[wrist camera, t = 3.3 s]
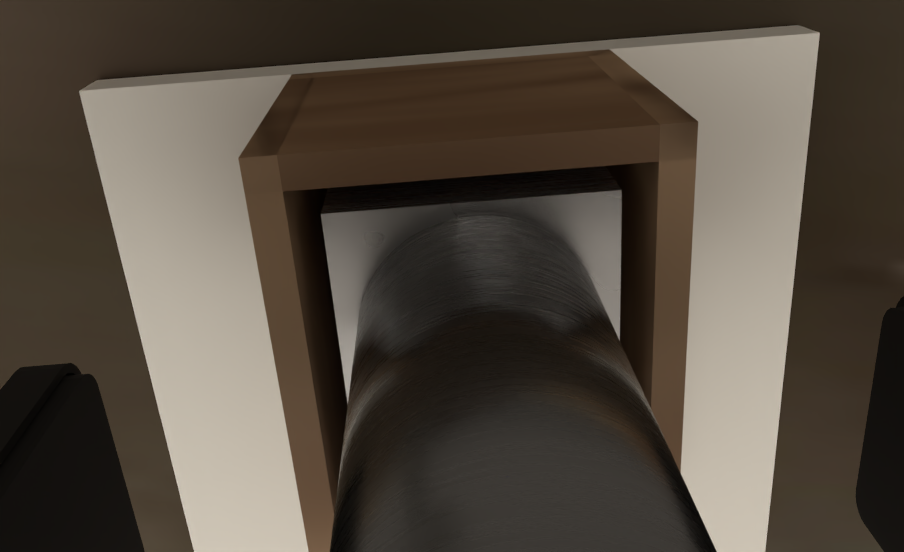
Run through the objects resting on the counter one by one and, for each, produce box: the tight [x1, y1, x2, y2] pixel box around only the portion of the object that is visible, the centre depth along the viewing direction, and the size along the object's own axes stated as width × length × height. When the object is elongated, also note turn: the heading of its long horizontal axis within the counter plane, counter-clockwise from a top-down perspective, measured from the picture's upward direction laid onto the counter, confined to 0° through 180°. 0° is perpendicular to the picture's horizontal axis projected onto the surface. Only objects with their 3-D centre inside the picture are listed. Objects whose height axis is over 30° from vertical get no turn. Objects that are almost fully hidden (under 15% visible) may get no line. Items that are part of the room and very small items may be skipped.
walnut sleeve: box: [238, 49, 698, 552], centre depth 16 cm, size 10×6×6 cm, turn 4°
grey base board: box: [79, 25, 820, 552], centre depth 21 cm, size 20×14×1 cm
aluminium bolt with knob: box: [321, 166, 717, 552], centre depth 13 cm, size 10×4×11 cm, turn 4°
